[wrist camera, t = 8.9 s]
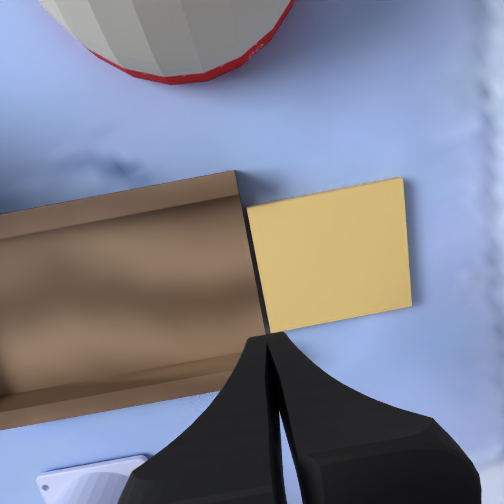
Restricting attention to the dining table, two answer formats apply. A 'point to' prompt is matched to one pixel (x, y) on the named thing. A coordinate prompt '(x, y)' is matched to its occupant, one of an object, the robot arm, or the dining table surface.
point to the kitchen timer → (171, 34)
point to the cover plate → (332, 254)
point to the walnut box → (123, 299)
